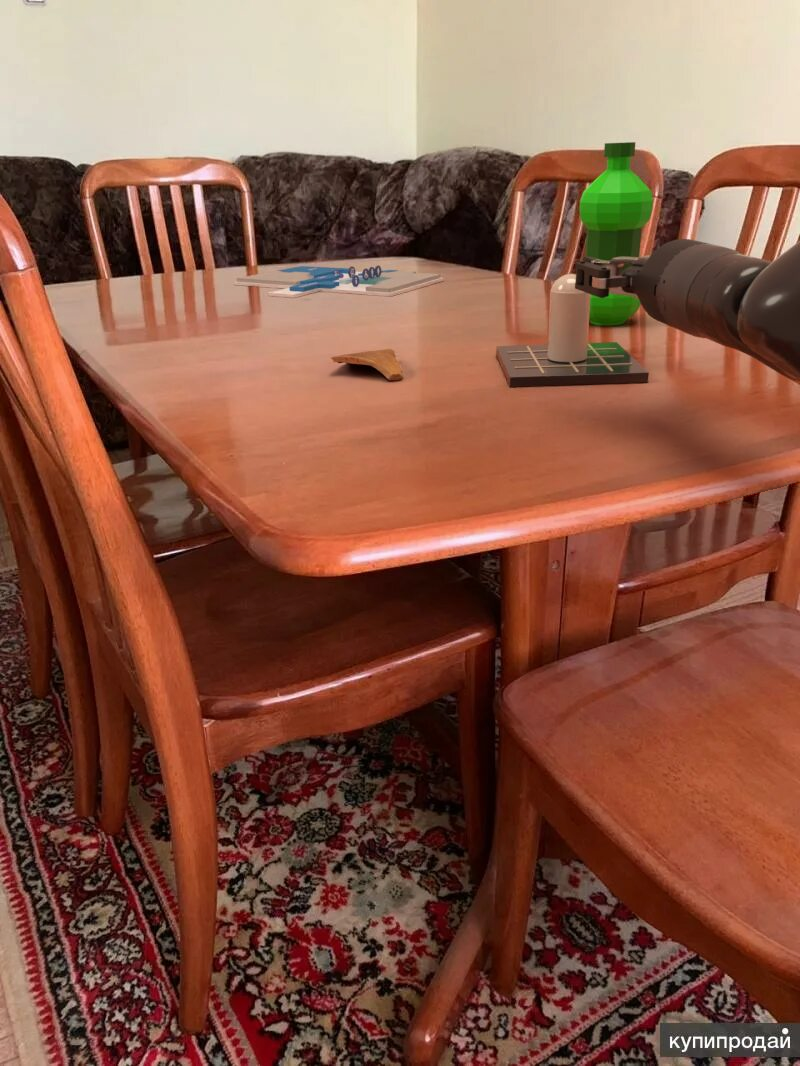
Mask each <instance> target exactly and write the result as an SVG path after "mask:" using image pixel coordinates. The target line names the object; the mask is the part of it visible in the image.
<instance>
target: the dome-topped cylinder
mask: <svg viewBox="0 0 800 1066" xmlns="http://www.w3.org/2000/svg"><path fill="white" fill-rule="evenodd" d="M575 283H576V273H567V274H563V275H562V276H559V277H558V278H557V279H556V280H555V281H554V283H553V284H552V286H551V288H550V290H549V312H548V333H547V334H548V335H547V336H548V338H547V344H548V356H547V357H548V359H550V360H552V361H557V362H578V361H583V360H585V359H586V358H587V347H588V343H589V331H590V330H589V329H590V320H589V315H590V299H591V294H589V293H586V292H583V291H581V290H578V289H575Z"/></svg>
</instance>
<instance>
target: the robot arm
mask: <svg viewBox="0 0 800 1066" xmlns="http://www.w3.org/2000/svg"><path fill="white" fill-rule="evenodd" d="M624 264H632V265H631V266H629V267H628V268H626V269H625V270H624V271H623V266H624ZM575 271H576V272H575V274H576V283H575V289H578V290H581V291H583V292H586V293H589V294H591V295H594V296H597V297H599V298H605V297H608V296H609V292H610V293H611V294H617V295H627V296H634V297H635V298H636V299H639V301H640V303H641V305H640V306H642V308H643V310H644V311H645V313H646V314H647V315H648V316H649V317H651V318H652V319H654V320H655V321H657V322H659V323H661V324H664V325H666V326H669V327H670V328H673V329H675V330H678V331H680V332H683V333H684V334H687V335H689V336H692V337H696V338H700V339H707V340H709V341H711V342H713V343H716V344H717V345H720V346H723V347H726V348H728V349H732V350H736V351H738V352H740V353H743V354H745V355H747V356H749V357H751V358H753V359H755V360H757V361H759V363H762V364H763V365H764V366H766V367H768V368H769V369H771V370H773V371H775V372H777V373H778V374H780V375H781V376H783V377H785V378H787V379H788V380H790V381H792V382H793V383H796V384H797V385H799V386H800V240H799V241H797V242H796V243H794V244H793V245H792V246H791V247H789V248H788V249H787V250H785V251H784V252H783V253H782V254H780V255H779V256H778V257H776V258H775V259H774V260H773V261H771V260H767V259H765V258H759V257H754V256H750V255H746V254H743V253H741V252H740V251H738V250H735V249H732V248H730V247H727V246H721V245H719V244H713V243H709V242H704V241H699V240H695V239H690V238H677V239H673V240H671V241H668V242H666V243H664V244H662V245H660V246H659V247H658V248H657V249H655V250H654V251H653V252H652V253H651V254H646V255H642V256H639V257H625V256H619V257H615V258H612V259H611V261H606V260H600V259H597V258H594V257H591V256H590V257H585V256H582V260H580V261H577V262H575Z"/></svg>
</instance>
